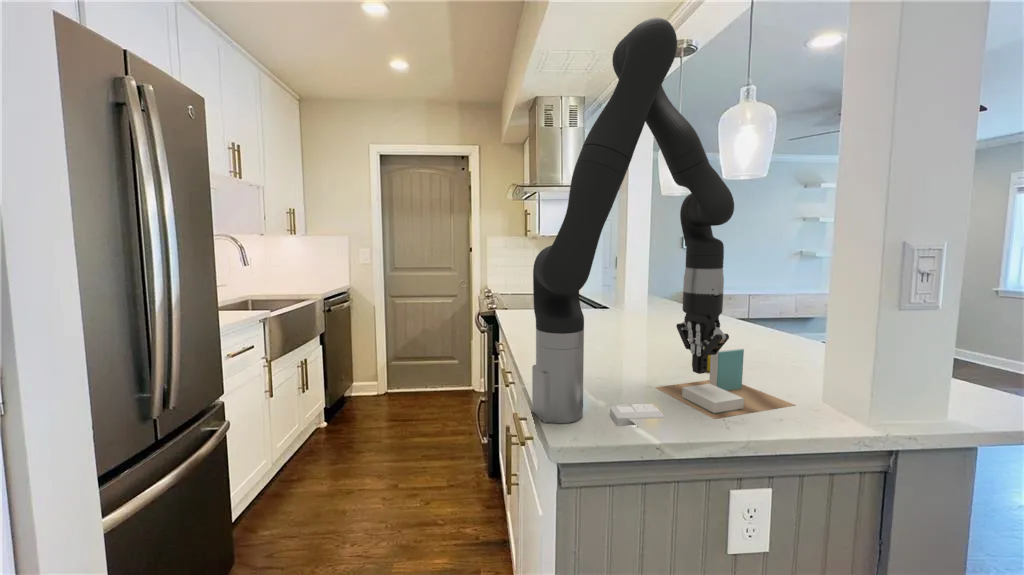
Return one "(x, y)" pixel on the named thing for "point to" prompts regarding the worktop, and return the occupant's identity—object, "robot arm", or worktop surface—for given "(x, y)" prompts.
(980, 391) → the worktop surface
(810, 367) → the worktop surface
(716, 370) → the tile far
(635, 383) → the worktop surface
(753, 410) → the board
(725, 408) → the tile near
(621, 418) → the white light switch
